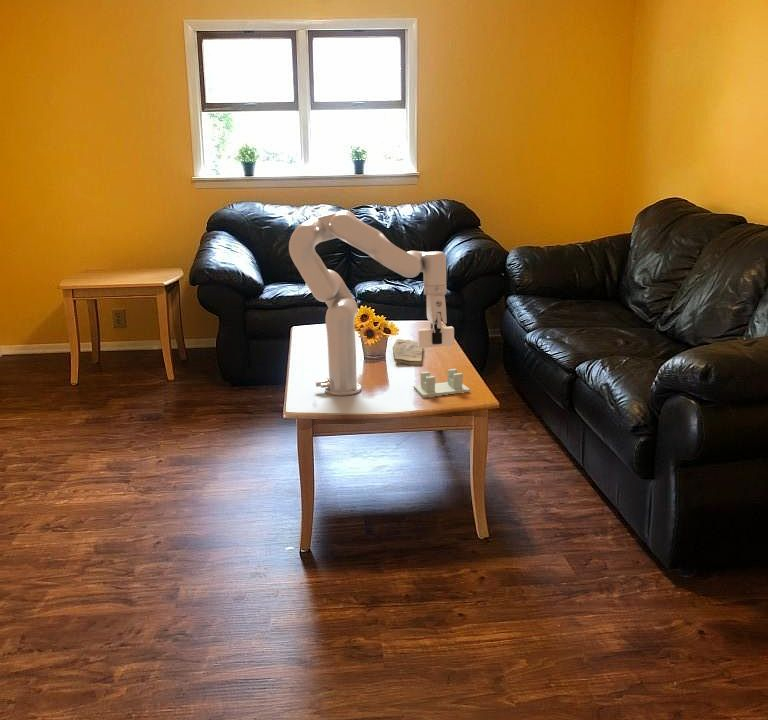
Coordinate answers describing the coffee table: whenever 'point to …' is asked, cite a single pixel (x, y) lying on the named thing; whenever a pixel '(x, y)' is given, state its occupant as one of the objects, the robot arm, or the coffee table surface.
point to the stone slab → (407, 352)
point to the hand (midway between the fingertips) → (436, 342)
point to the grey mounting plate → (441, 385)
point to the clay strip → (426, 337)
